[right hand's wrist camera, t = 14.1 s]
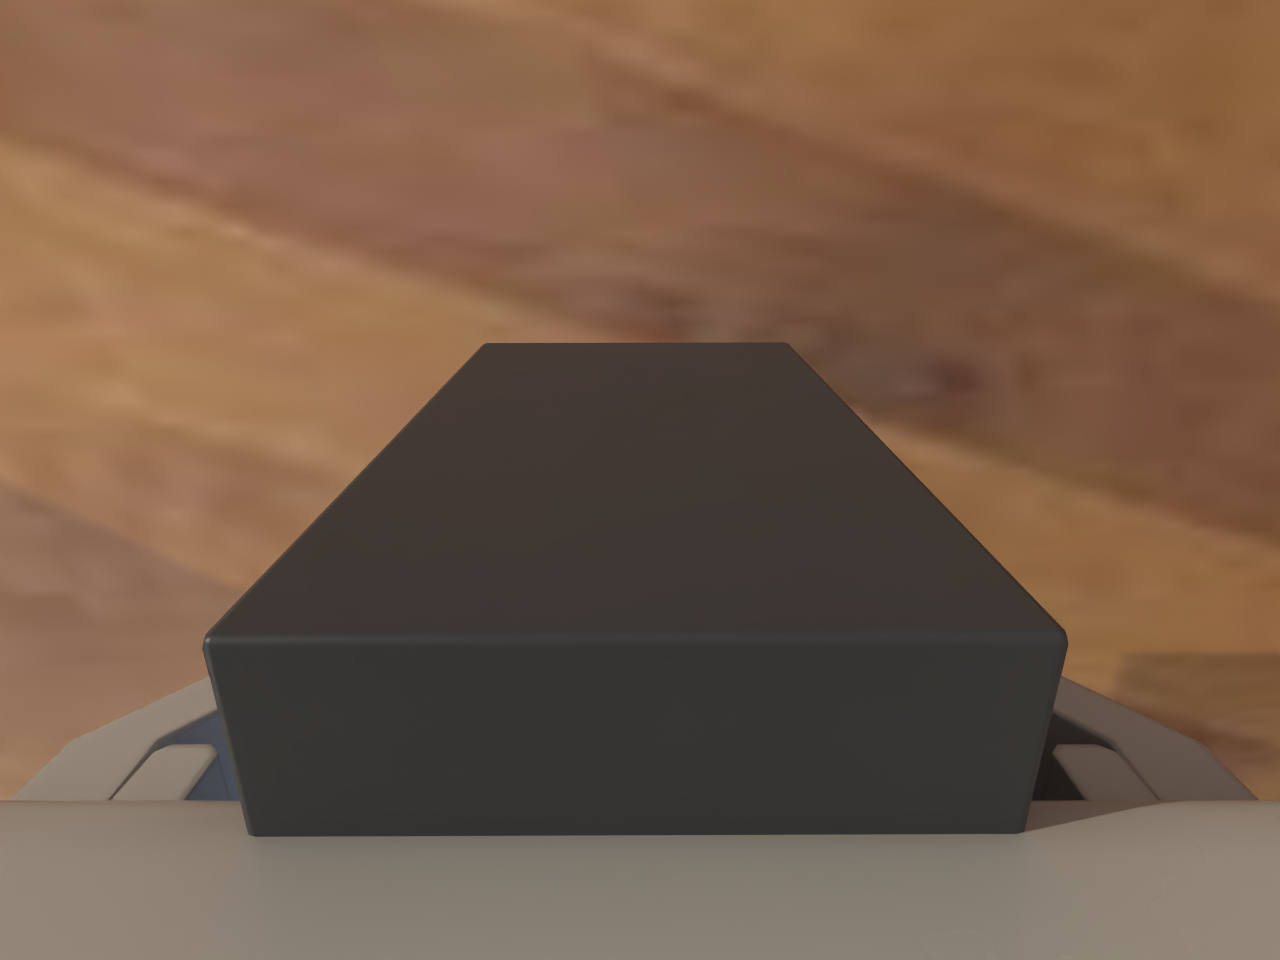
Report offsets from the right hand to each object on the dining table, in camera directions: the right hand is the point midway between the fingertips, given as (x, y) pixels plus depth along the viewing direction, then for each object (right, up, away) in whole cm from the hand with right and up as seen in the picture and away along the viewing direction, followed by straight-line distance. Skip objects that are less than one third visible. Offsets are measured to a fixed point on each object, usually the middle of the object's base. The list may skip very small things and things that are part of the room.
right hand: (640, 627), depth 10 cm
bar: (0, -8, +7) cm, 11 cm away
